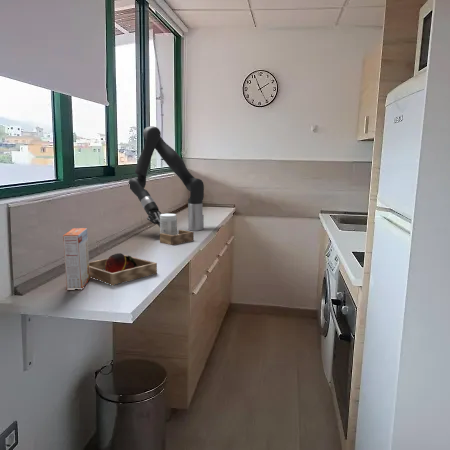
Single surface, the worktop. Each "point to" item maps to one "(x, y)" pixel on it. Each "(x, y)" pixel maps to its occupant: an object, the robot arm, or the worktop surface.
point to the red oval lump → (119, 263)
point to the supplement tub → (168, 224)
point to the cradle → (177, 237)
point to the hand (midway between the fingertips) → (163, 228)
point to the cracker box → (76, 257)
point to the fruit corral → (139, 271)
